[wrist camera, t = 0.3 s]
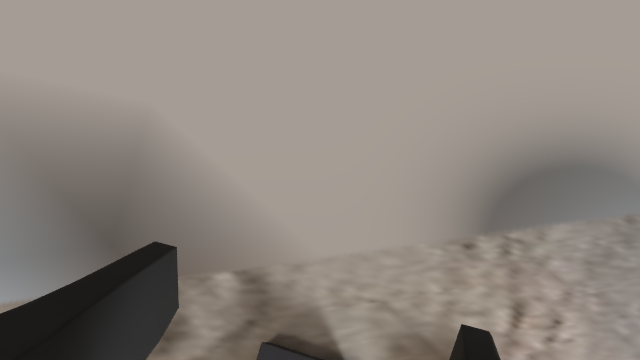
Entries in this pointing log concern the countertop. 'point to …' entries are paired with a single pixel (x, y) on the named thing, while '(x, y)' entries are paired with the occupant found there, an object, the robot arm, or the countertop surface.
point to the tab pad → (281, 353)
